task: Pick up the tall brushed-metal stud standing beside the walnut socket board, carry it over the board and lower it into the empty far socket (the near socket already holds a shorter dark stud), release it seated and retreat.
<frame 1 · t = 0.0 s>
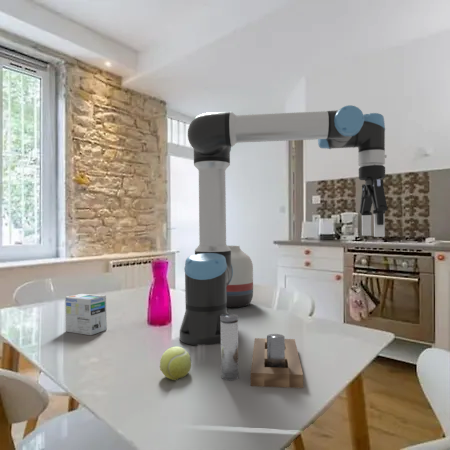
hand: (372, 236, 111), 28 cm above the table, fingers open, 13 cm apart
stud: (229, 378, 75), on the table
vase: (232, 305, 146), on the table
light bulb box: (86, 331, 112), on the table
socket board: (275, 367, 81), on the table
seated stud: (276, 375, 76), resting on socket board
tennis ball: (175, 378, 76), on the table
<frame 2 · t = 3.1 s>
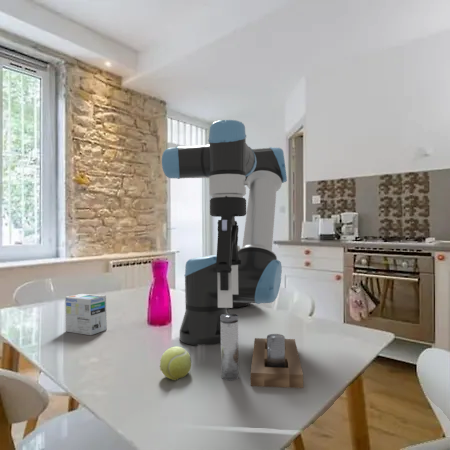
hand: (229, 300, 75), 16 cm above the table, fingers open, 13 cm apart
nothing on the table moved.
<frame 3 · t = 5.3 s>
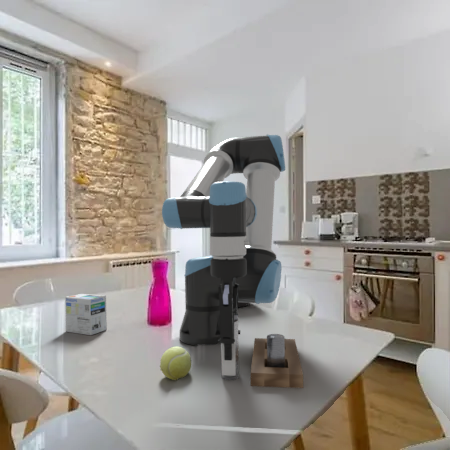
hand: (230, 370, 75), 2 cm above the table, fingers closed on stud, 4 cm apart
stud: (230, 377, 75), on the table, touching gripper
everything else where it was.
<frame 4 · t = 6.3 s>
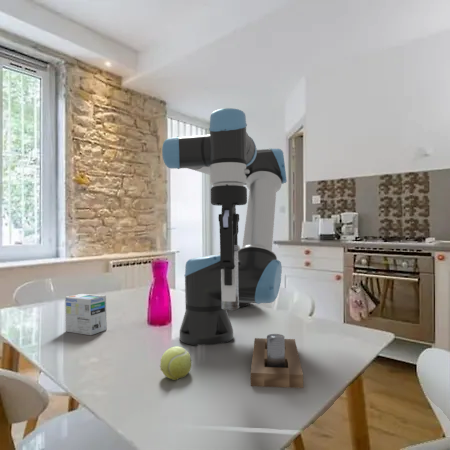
hand: (230, 298, 76), 16 cm above the table, fingers closed on stud, 3 cm apart
stud: (230, 307, 76), point 15 cm above the table, touching gripper
everything else where it was.
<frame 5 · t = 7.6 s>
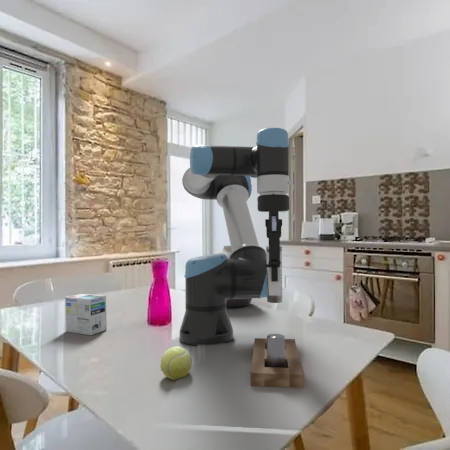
hand: (274, 293, 86), 15 cm above the table, fingers closed on stud, 4 cm apart
stud: (274, 301, 86), point 14 cm above the table, touching gripper
everything else where it was.
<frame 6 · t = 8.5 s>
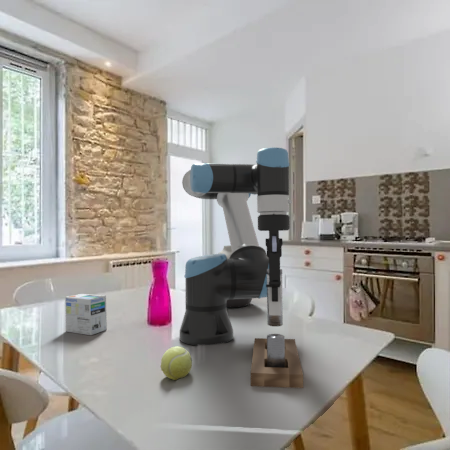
hand: (274, 312, 86), 11 cm above the table, fingers closed on stud, 4 cm apart
stud: (275, 324, 86), point 8 cm above the table, touching gripper
everything else where it was.
when the fingers open (4 cm above the table, at t = 10.2 s): stud stays where it is, resting on socket board.
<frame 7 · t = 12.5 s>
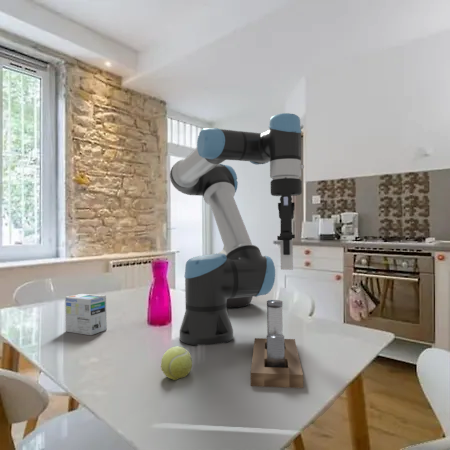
hand: (287, 266, 89), 22 cm above the table, fingers open, 13 cm apart
stud: (275, 356, 86), resting on socket board
everything else where it was.
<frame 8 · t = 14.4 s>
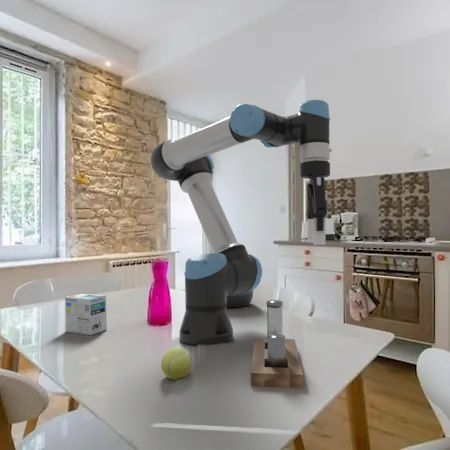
hand: (315, 243, 95), 27 cm above the table, fingers open, 13 cm apart
nothing on the table moved.
at the end: stud 0.0 cm from the target spot on the socket board, point 0.5 cm above the socket board's base; the gripper is holding nothing; seated stud moved 0.0 cm from its start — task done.
